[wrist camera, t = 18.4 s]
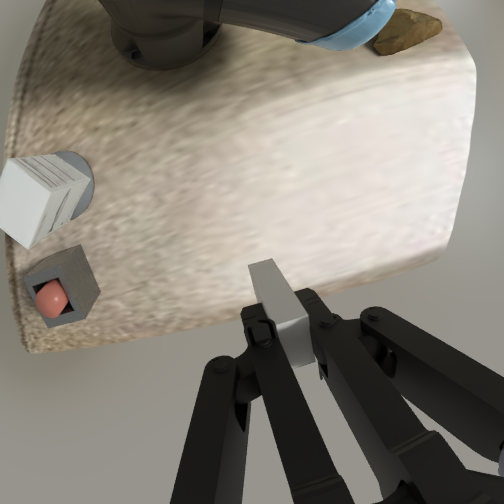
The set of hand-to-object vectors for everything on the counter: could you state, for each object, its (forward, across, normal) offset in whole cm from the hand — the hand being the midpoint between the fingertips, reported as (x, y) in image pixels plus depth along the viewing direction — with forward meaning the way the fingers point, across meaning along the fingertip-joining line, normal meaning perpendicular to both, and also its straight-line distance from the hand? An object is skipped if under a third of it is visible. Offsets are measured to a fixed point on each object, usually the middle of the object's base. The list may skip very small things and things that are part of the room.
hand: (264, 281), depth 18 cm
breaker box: (+24, -26, -3) cm, 36 cm away
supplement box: (+24, -22, +10) cm, 34 cm away
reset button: (+21, -26, -3) cm, 34 cm away
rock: (+25, +32, +23) cm, 47 cm away
